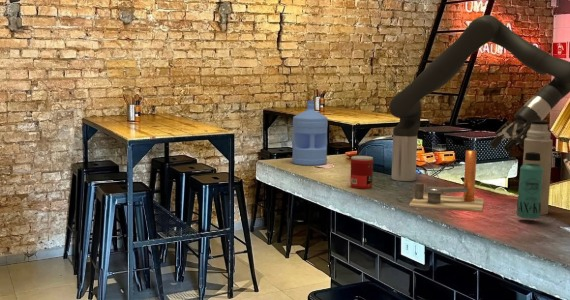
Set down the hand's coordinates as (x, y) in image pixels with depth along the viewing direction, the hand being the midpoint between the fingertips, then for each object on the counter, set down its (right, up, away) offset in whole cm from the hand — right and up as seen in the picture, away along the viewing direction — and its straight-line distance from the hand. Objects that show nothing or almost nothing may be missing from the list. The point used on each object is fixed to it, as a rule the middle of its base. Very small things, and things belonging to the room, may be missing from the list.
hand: (498, 148), depth 210 cm
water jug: (-58, -7, +82) cm, 100 cm away
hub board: (-17, -18, 0) cm, 24 cm away
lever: (-16, -17, -1) cm, 23 cm away
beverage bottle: (+1, -21, -24) cm, 32 cm away
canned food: (-41, -14, +26) cm, 51 cm away
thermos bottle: (+7, -20, -12) cm, 24 cm away
